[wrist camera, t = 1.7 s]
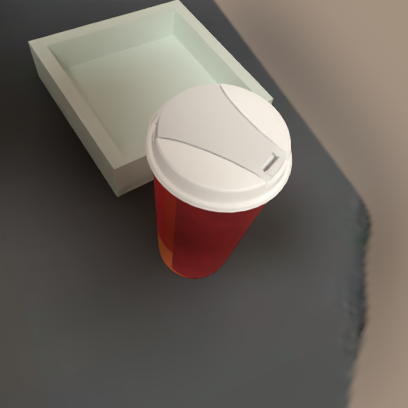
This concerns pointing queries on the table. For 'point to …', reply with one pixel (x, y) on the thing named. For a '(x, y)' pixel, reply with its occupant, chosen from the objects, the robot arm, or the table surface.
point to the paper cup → (213, 172)
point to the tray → (131, 81)
